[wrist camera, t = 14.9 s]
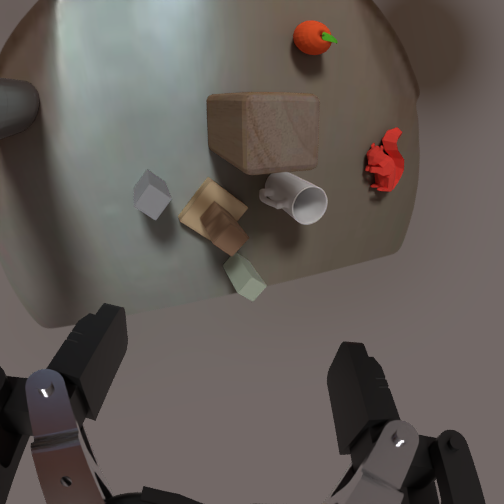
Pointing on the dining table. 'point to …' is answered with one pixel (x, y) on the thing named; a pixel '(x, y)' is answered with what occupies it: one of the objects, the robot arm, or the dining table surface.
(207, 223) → the walnut post
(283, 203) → the mug
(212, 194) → the oak slab
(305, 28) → the clementine
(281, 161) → the wooden block
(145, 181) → the grey post
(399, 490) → the robot arm
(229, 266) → the sage post
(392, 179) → the animal figurine
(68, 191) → the dining table surface
